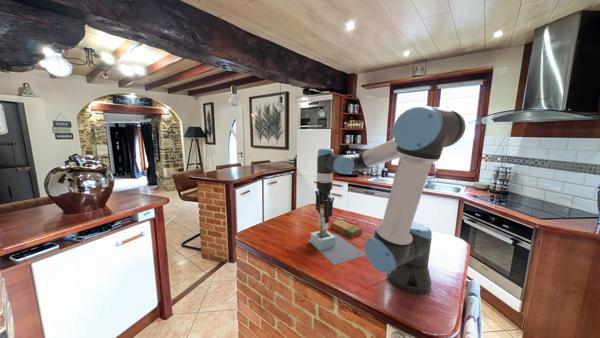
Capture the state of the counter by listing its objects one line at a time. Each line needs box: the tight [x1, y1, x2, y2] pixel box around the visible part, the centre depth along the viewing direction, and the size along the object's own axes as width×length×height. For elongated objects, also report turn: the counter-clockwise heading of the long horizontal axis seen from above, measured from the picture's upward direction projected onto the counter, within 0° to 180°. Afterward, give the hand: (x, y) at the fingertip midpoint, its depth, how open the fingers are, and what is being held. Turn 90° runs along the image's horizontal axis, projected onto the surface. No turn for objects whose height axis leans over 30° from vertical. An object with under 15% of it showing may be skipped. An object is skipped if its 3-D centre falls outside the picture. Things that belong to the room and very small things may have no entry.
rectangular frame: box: [310, 230, 336, 251], centre depth 111 cm, size 9×9×5 cm
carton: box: [330, 219, 363, 239], centre depth 126 cm, size 8×16×4 cm, turn 37°
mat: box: [307, 232, 366, 266], centre depth 109 cm, size 24×18×1 cm
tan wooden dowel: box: [318, 203, 328, 237], centre depth 109 cm, size 4×4×16 cm
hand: (323, 226), depth 110 cm, fingers closed on tan wooden dowel, 3 cm apart
